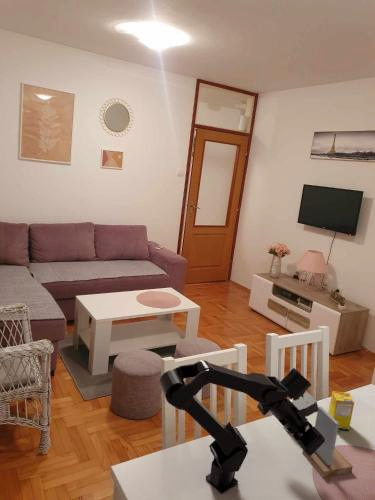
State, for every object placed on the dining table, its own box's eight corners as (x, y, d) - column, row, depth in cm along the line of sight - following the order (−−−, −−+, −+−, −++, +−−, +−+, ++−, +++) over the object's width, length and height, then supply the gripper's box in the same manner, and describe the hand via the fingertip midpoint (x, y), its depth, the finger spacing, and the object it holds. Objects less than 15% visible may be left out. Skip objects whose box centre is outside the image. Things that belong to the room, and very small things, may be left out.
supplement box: (343, 420, 139) (349, 392, 137) (349, 431, 133) (354, 402, 131) (326, 418, 139) (332, 390, 137) (331, 428, 134) (336, 400, 131)
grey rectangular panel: (327, 467, 112) (336, 424, 109) (310, 448, 120) (318, 406, 117) (330, 466, 113) (339, 423, 110) (313, 447, 120) (321, 406, 117)
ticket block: (322, 477, 111) (323, 471, 111) (302, 453, 120) (303, 447, 120) (351, 472, 114) (352, 466, 114) (329, 448, 124) (330, 443, 123)
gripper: (324, 408, 100) (352, 441, 105) (285, 371, 117) (310, 400, 123) (293, 440, 99) (323, 471, 104) (258, 397, 116) (285, 426, 122)
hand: (310, 439), depth 113 cm, fingers closed
